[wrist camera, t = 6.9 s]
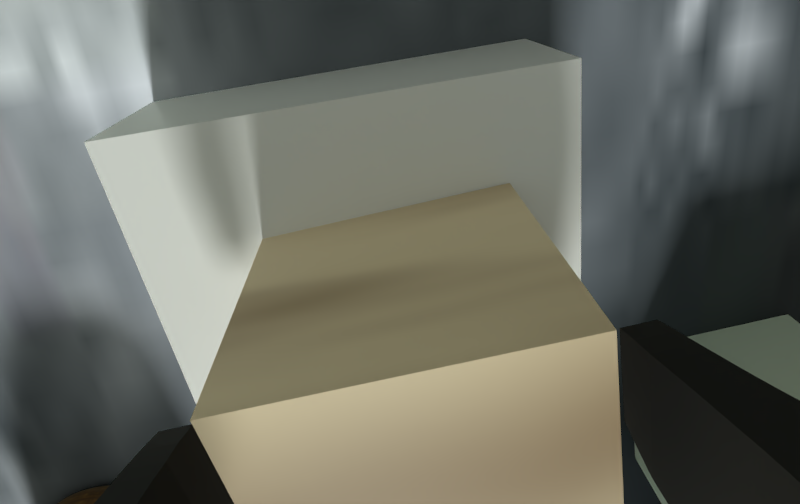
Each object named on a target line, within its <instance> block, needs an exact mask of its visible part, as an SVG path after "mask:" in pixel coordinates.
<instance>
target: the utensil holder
mask: <svg viewBox="0 0 800 504" xmlns="http://www.w3.org/2000/svg"><path fill="white" fill-rule="evenodd" d="M109 486H110V485H107V486H99V487H93V488H89V489H85V490H82V491H79V492H77V493H75V494H72V495H70V496H68V497H67V498H65V499H63V500H62V501H60V502H59V503H58V504H94V503H95V502H96V501H97V499H98V498H99V497H100V496H101V495H102V494H103V493H104V491H105V490H106V489H107V488H108V487H109Z"/></svg>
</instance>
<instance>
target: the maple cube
mask: <svg viewBox="0 0 800 504" xmlns="http://www.w3.org/2000/svg"><path fill="white" fill-rule="evenodd" d="M190 421H191V423H192V425H193V427H194V429H195V431H196V433H197V435H198V437H199V438H200V440H201V442H202V444H203V446H204V448H205V450H206V452H207V453H208V455H209V457H210V459H211V461H212V463H213V465H214V467H215V469H216V470H217V472H218V474H219V476H220V478H221V480H222V482H223V484H224V485H225V487H226V489H227V491H228V493H229V495H230V497H231V499H232V501H233V502H234V504H624V495H623V471H622V448H621V424H620V400H619V376H618V353H617V330H616V329H615V327H614V326H613V325H612V323H611V322H610V321H609V319H608V318H607V316H606V315H605V314H604V312H603V311H602V309H601V308H600V307H599V305H598V304H597V303H596V301H595V300H594V298H593V297H592V296H591V294H590V293H589V292H588V290H587V289H586V287H585V286H584V285H583V283H582V282H581V281H580V279H579V278H578V276H577V275H576V274H575V272H574V271H573V270H572V268H571V267H570V265H569V264H568V263H567V261H566V260H565V259H564V257H563V256H562V254H561V253H560V252H559V250H558V249H557V247H556V246H555V245H554V243H553V242H552V241H551V239H550V238H549V236H548V235H547V234H546V232H545V231H544V230H543V228H542V227H541V225H540V224H539V223H538V221H537V220H536V219H535V217H534V216H533V214H532V213H531V212H530V210H529V209H528V208H527V206H526V205H525V203H524V202H523V201H522V199H521V198H520V197H519V195H518V194H517V192H516V191H515V190H514V188H513V187H512V185H511V184H510V183H507V184H503V185H498V186H494V187H489V188H485V189H481V190H476V191H472V192H467V193H463V194H458V195H454V196H450V197H445V198H441V199H436V200H432V201H427V202H423V203H419V204H414V205H410V206H405V207H401V208H396V209H392V210H388V211H383V212H379V213H374V214H370V215H365V216H361V217H357V218H352V219H348V220H343V221H339V222H335V223H330V224H326V225H322V226H317V227H313V228H308V229H304V230H300V231H295V232H291V233H287V234H282V235H278V236H274V237H269V238H265V239H262V242H261V244H260V247H259V249H258V252H257V254H256V257H255V259H254V262H253V264H252V267H251V269H250V272H249V274H248V277H247V279H246V282H245V284H244V287H243V289H242V292H241V294H240V297H239V299H238V302H237V304H236V307H235V309H234V312H233V314H232V317H231V319H230V322H229V324H228V327H227V329H226V332H225V334H224V337H223V339H222V342H221V344H220V347H219V349H218V352H217V354H216V357H215V359H214V362H213V364H212V367H211V369H210V372H209V374H208V377H207V379H206V382H205V384H204V387H203V389H202V392H201V394H200V397H199V399H198V402H197V404H196V407H195V409H194V412H193V414H192V417H191V419H190Z"/></svg>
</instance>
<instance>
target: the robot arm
mask: <svg viewBox="0 0 800 504" xmlns="http://www.w3.org/2000/svg"><path fill="white" fill-rule="evenodd" d="M620 345H621V364H622V384H623V403H624V421H625V423H626V425H627V427H628V429H629V432H630V434H631V436H632V438H633V440H634V442H635V444H636V446H637V448H638V451H639V453H640V455H641V457H642V459H643V461H644V463H645V465H646V467H647V469H648V471H649V473H650V475H651V477H652V479H653V480H654V482H655V484H656V485H657V487H658V489H659V490H660V492H661V493H662V495H663V497H664V498H665V500H666V501H667V503H668V504H800V400H798V399H796V398H794V397H792V396H791V395H789V394H787V393H785V392H783V391H781V390H780V389H778V388H776V387H774V386H772V385H770V384H769V383H767V382H765V381H763V380H761V379H760V378H758V377H756V376H754V375H753V374H751V373H749V372H747V371H745V370H744V369H742V368H740V367H738V366H737V365H735V364H733V363H731V362H730V361H728V360H726V359H725V358H723V357H721V356H719V355H718V354H716V353H714V352H712V351H711V350H709V349H707V348H706V347H704V346H702V345H700V344H699V343H697V342H695V341H694V340H692V339H690V338H688V337H687V336H685V335H683V334H682V333H680V332H678V331H676V330H675V329H673V328H671V327H669V326H668V325H666V324H664V323H662V322H661V321H659V320H654V321H650V322H645V323H641V324H636V325H632V326H627V327H623V328H620ZM94 504H234V502H233V501H232V499H231V497H230V495H229V493H228V491H227V489H226V487H225V485H224V484H223V482H222V480H221V478H220V476H219V474H218V472H217V470H216V469H215V467H214V465H213V463H212V461H211V459H210V457H209V455H208V453H207V452H206V450H205V448H204V446H203V444H202V442H201V440H200V438H199V437H198V435H197V433H196V431H195V429H194V427H193V425H192V424H191V425H187V426H182V427H178V428H174V429H169V430H165V431H160V432H158V433H157V434H156V435H155V436H154V437H153V438H152V439H151V440H150V441H149V442H148V443H147V444H146V445H145V446H144V447H143V448H142V450H141V451H140V452H139V453H138V454H137V455H136V456H135V457H134V458H133V459H132V461H131V462H130V463H129V464H128V465H127V466H126V467H125V469H124V470H123V471H122V472H121V473H120V474H119V475H118V477H117V478H116V479H115V480H114V481H113V482H112V483H111V485H110V486H109V487H108V488H107V489H106V490H105V491H104V493H103V494H102V495H101V496H100V497H99V498H98V499H97V501H96V502H95V503H94Z"/></svg>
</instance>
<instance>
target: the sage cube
mask: <svg viewBox="0 0 800 504" xmlns="http://www.w3.org/2000/svg"><path fill="white" fill-rule="evenodd" d="M688 338H690V339H692V340H694V341H695V342H697V343H699V344H700V345H702V346H704V347H706V348H707V349H709V350H711V351H712V352H714V353H716V354H718V355H719V356H721V357H723V358H725V359H726V360H728V361H730V362H731V363H733V364H735V365H737V366H738V367H740V368H742V369H744V370H745V371H747V372H749V373H751V374H753V375H754V376H756V377H758V378H760V379H761V380H763V381H765V382H767V383H769V384H770V385H772V386H774V387H776V388H778V389H780V390H781V391H783V392H785V393H787V394H789V395H791V396H792V397H794V398H796V399H798V400H800V323H798V322H797V321H796V320H794V319H793V318H792V317H791V316H789V315H788V314H787V315H782V316H778V317H773V318H769V319H764V320H760V321H755V322H751V323H746V324H742V325H737V326H733V327H728V328H724V329H720V330H715V331H711V332H706V333H702V334H697V335H693V336H688ZM634 445H635V459H636V460H637V462H638V464H639V465H640V467H641V469H642V471H643V472H644V474H645V476H646V478H647V479H648V481H649V483H650V485H651V486H652V488H653V490H654V491H655V493H656V495H657V497H658V498H659V500H660V502H661V504H668V503H667V501H666V500H665V498H664V497H663V495H662V493H661V492H660V490H659V489H658V487H657V485H656V484H655V482H654V480H653V479H652V477H651V475H650V473H649V471H648V469H647V467H646V465H645V463H644V461H643V459H642V457H641V455H640V453H639V451H638V448H637V446H636V444H635V442H634Z"/></svg>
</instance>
